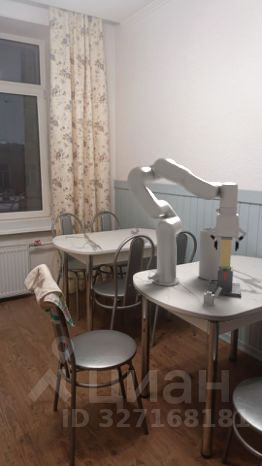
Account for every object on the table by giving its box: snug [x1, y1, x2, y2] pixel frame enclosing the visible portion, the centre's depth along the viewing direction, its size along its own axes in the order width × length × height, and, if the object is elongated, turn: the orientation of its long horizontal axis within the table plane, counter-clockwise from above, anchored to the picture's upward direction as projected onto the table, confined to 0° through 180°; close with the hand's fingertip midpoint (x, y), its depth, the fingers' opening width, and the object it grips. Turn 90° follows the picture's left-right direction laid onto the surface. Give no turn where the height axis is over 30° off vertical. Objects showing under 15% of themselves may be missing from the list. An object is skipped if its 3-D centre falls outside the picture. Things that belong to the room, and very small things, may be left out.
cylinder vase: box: [198, 227, 222, 281], centre depth 172 cm, size 12×12×25 cm
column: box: [220, 237, 233, 270], centre depth 152 cm, size 5×5×17 cm
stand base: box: [207, 266, 242, 298], centre depth 154 cm, size 14×14×11 cm
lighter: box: [202, 287, 222, 307], centre depth 138 cm, size 7×2×8 cm, turn 61°
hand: (226, 249), depth 151 cm, fingers open, 8 cm apart
